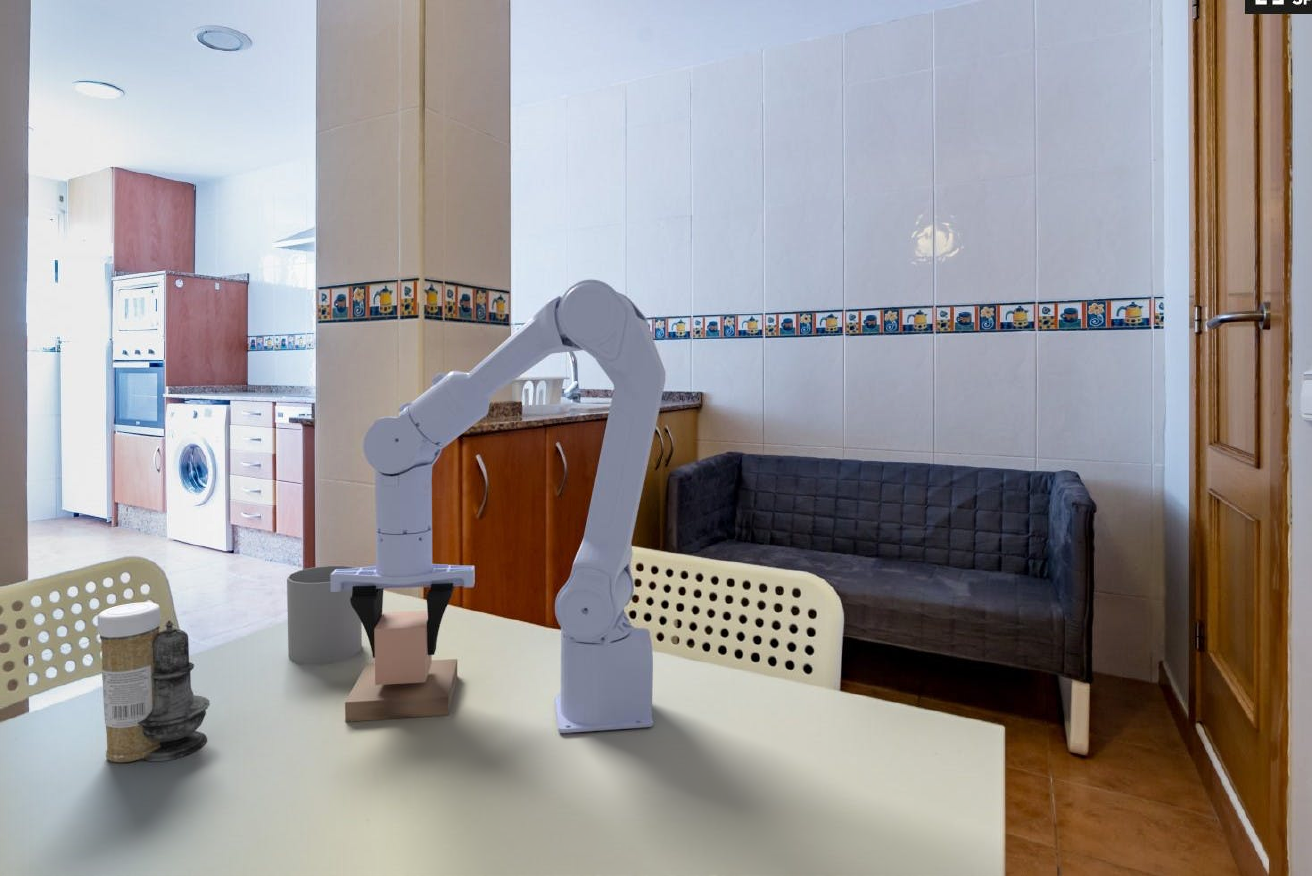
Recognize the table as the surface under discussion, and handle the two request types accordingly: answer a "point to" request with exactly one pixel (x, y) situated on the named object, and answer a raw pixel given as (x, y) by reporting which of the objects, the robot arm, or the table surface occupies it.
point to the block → (402, 648)
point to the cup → (320, 618)
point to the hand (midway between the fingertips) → (405, 653)
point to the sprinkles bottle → (128, 677)
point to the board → (402, 695)
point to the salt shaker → (173, 699)
